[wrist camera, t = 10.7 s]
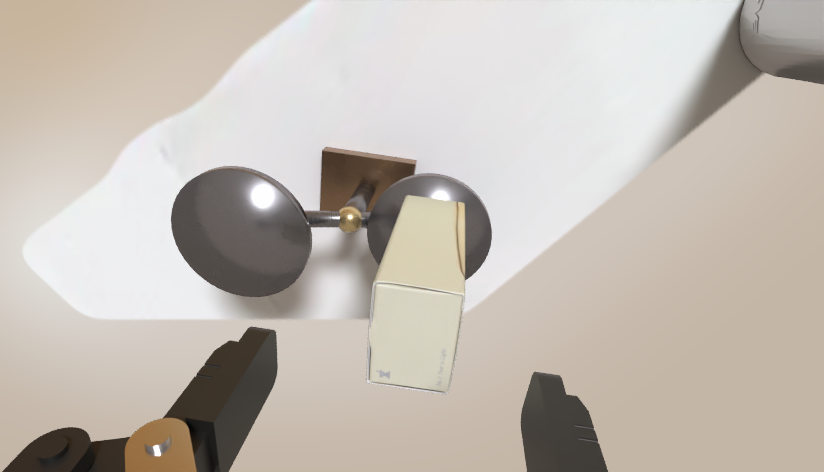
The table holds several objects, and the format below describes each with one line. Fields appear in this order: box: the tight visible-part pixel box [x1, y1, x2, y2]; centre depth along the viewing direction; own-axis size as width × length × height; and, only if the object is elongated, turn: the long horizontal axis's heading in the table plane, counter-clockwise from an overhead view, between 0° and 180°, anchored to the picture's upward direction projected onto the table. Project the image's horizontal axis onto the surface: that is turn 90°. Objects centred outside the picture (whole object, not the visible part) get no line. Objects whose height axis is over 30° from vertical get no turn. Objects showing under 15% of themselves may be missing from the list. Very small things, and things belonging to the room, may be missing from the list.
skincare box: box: [366, 195, 465, 394], centre depth 26 cm, size 6×4×12 cm
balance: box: [171, 147, 492, 297], centre depth 34 cm, size 21×9×13 cm, turn 83°
